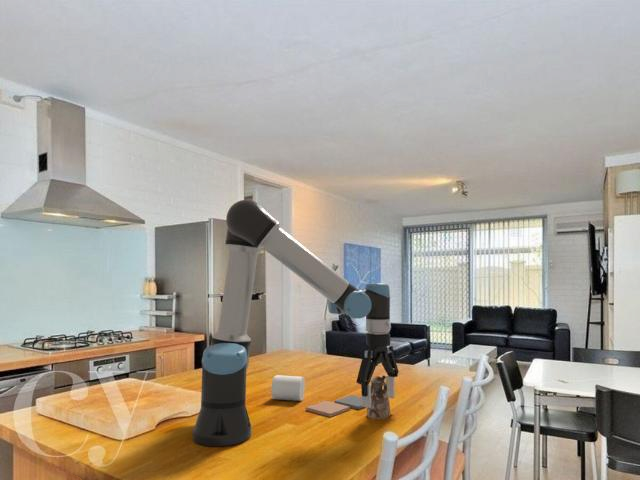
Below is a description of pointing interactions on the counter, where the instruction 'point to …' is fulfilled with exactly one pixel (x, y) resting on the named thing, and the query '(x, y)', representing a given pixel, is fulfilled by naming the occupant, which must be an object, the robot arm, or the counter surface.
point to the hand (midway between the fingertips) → (378, 402)
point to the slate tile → (351, 401)
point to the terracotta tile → (327, 408)
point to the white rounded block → (288, 388)
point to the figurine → (379, 399)
